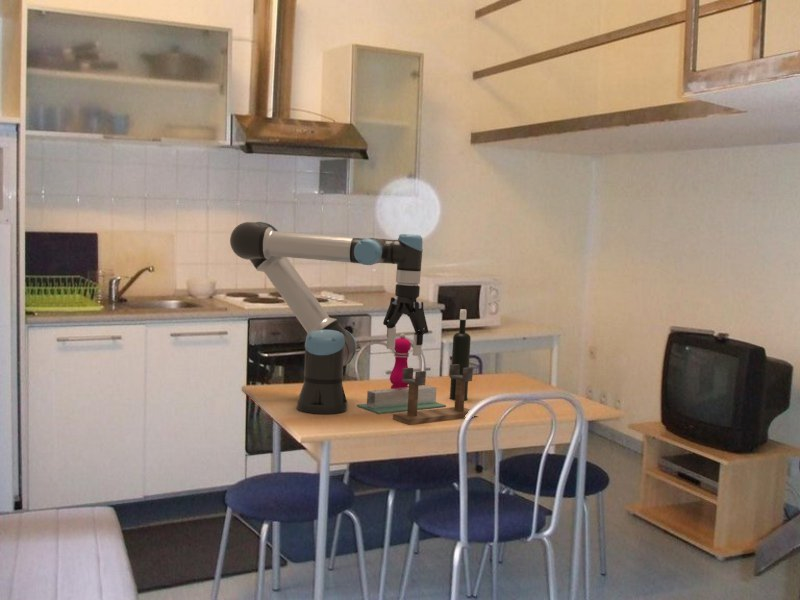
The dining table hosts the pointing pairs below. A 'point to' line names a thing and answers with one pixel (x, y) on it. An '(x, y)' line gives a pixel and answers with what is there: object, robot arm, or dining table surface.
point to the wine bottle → (460, 353)
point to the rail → (399, 397)
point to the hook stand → (436, 414)
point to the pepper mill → (400, 362)
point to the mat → (401, 408)
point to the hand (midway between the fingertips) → (403, 352)
